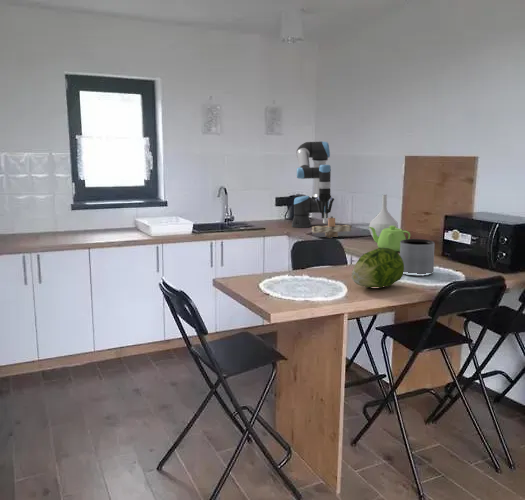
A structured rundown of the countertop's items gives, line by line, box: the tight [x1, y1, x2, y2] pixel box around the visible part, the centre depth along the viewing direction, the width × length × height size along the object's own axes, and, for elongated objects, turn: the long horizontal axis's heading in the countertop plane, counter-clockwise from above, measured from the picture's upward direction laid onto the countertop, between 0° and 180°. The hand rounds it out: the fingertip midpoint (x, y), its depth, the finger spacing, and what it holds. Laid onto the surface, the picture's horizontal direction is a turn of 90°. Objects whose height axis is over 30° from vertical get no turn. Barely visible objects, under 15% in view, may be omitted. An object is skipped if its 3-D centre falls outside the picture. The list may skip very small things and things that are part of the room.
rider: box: [327, 216, 336, 227], centre depth 353 cm, size 4×3×8 cm
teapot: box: [368, 226, 411, 253], centre depth 307 cm, size 19×20×14 cm
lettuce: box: [351, 247, 404, 288], centre depth 225 cm, size 17×23×17 cm
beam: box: [311, 224, 352, 239], centre depth 354 cm, size 26×8×8 cm, turn 101°
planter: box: [399, 238, 436, 274], centre depth 249 cm, size 16×16×16 cm
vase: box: [368, 194, 399, 238], centre depth 336 cm, size 18×18×30 cm
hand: (324, 223), depth 352 cm, fingers closed
